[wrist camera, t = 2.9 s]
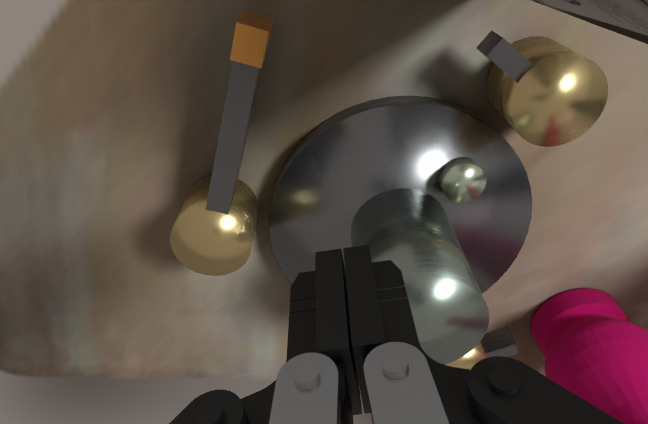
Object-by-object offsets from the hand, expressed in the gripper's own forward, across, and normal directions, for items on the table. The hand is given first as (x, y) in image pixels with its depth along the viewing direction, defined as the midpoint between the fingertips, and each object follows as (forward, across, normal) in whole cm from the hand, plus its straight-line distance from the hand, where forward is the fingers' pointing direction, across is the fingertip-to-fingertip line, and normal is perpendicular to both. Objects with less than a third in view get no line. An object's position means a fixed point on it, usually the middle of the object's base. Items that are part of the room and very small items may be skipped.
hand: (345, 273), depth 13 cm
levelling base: (+15, -5, +8) cm, 18 cm away
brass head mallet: (+15, +6, +1) cm, 16 cm away
